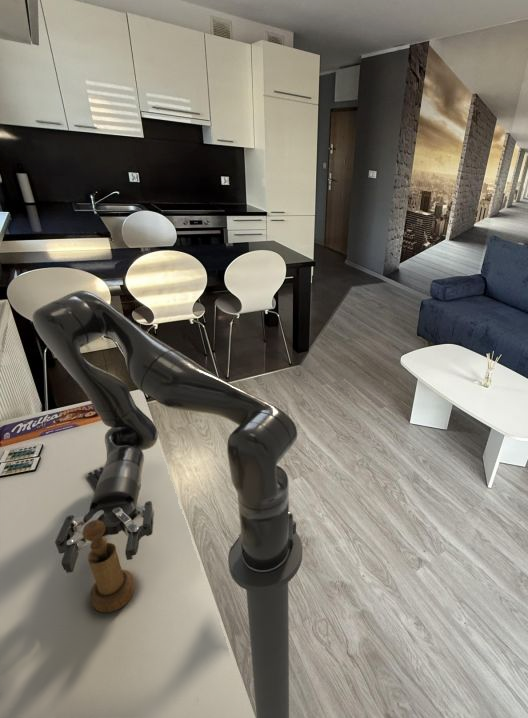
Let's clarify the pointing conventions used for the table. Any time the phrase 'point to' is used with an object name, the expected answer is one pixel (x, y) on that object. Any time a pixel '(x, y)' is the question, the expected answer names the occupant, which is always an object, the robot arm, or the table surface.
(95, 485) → the brush with brown handle
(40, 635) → the table surface
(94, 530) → the mortar and pestle
